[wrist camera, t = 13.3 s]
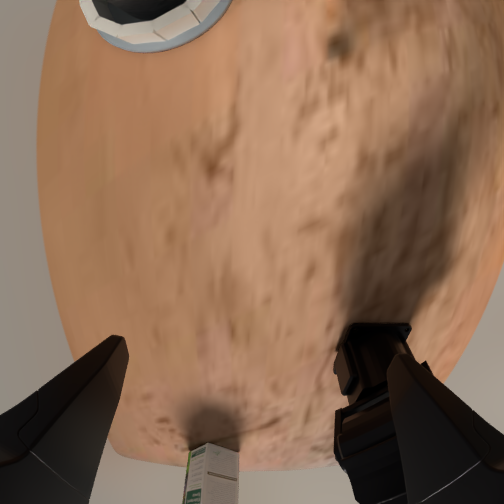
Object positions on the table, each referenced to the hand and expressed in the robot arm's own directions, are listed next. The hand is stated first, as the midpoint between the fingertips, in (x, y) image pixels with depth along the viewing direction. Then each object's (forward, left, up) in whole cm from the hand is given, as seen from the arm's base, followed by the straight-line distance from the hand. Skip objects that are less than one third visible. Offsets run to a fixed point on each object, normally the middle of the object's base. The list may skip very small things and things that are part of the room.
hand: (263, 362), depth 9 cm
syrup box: (+3, +37, -13) cm, 39 cm away
